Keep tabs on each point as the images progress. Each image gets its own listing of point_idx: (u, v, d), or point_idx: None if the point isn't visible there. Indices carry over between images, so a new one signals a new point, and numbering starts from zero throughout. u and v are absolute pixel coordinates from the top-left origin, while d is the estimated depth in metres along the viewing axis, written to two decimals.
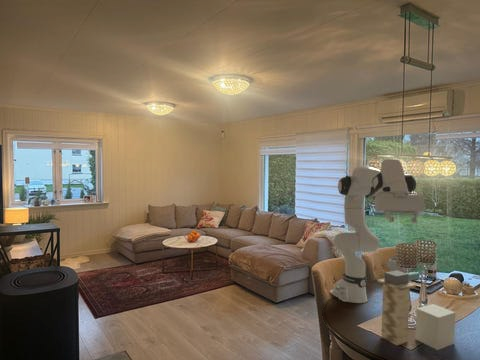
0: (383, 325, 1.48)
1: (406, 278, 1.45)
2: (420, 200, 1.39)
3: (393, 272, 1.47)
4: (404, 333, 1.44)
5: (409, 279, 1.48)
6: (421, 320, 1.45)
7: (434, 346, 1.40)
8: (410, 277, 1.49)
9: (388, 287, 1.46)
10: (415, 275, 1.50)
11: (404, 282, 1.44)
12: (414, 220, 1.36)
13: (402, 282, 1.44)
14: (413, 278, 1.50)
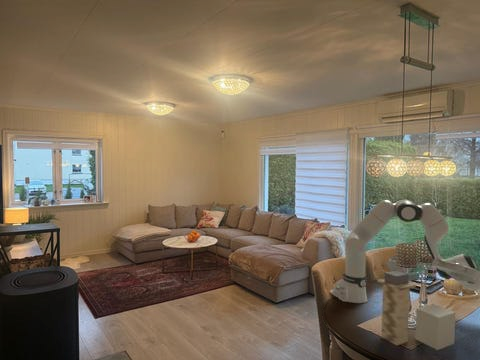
0: (383, 325, 1.48)
1: (406, 278, 1.45)
2: (438, 268, 1.71)
3: (393, 272, 1.47)
4: (404, 333, 1.44)
5: (409, 279, 1.48)
6: (421, 320, 1.45)
7: (434, 346, 1.40)
8: (410, 277, 1.49)
9: (388, 287, 1.46)
10: (415, 275, 1.50)
11: (404, 282, 1.44)
12: (438, 262, 1.64)
13: (402, 282, 1.44)
14: (413, 278, 1.50)
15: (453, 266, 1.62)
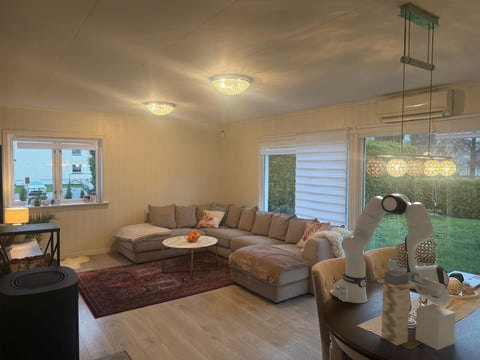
0: (383, 325, 1.48)
1: (406, 278, 1.45)
2: None
3: (393, 272, 1.47)
4: (404, 333, 1.44)
5: (409, 279, 1.48)
6: (421, 320, 1.45)
7: (434, 346, 1.40)
8: (410, 277, 1.49)
9: (388, 287, 1.46)
10: None
11: (404, 282, 1.44)
12: None
13: (402, 282, 1.44)
14: None
15: None
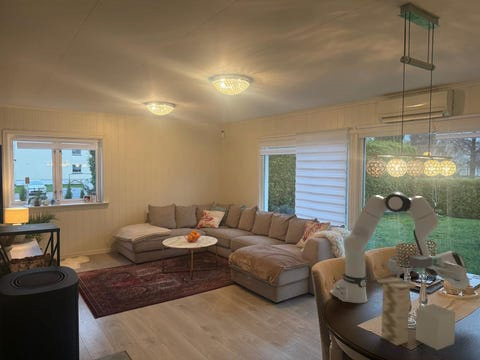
0: (383, 325, 1.48)
1: (429, 261, 1.50)
2: None
3: (417, 256, 1.52)
4: (404, 333, 1.44)
5: (432, 263, 1.54)
6: (421, 320, 1.45)
7: (434, 346, 1.40)
8: (433, 261, 1.54)
9: (388, 287, 1.46)
10: None
11: (428, 265, 1.49)
12: None
13: (426, 265, 1.49)
14: None
15: (439, 263, 1.57)
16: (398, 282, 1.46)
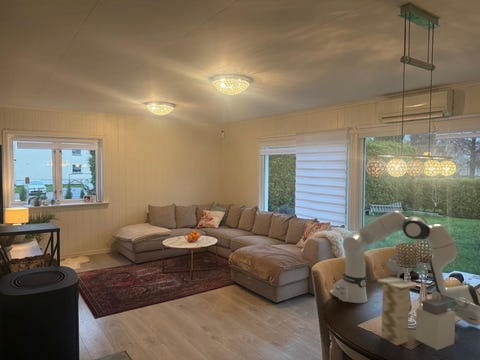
0: (383, 325, 1.48)
1: (445, 307, 1.44)
2: None
3: (432, 300, 1.46)
4: (404, 333, 1.44)
5: (447, 307, 1.47)
6: (421, 320, 1.45)
7: (434, 346, 1.40)
8: (448, 306, 1.48)
9: (388, 287, 1.46)
10: (452, 303, 1.49)
11: (443, 311, 1.43)
12: (440, 297, 1.52)
13: (441, 311, 1.43)
14: (451, 306, 1.49)
15: None
16: (398, 282, 1.46)
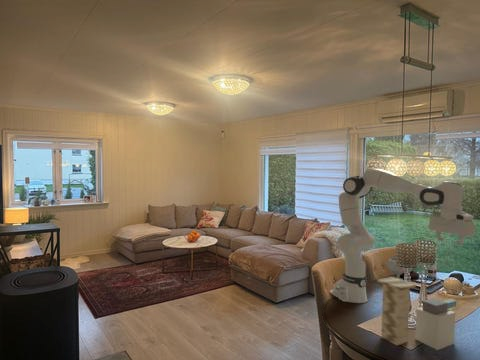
0: (383, 325, 1.48)
1: (445, 307, 1.44)
2: None
3: (432, 300, 1.46)
4: (404, 333, 1.44)
5: (447, 307, 1.47)
6: (421, 320, 1.45)
7: (434, 346, 1.40)
8: (448, 306, 1.48)
9: (388, 287, 1.46)
10: (452, 303, 1.49)
11: (443, 311, 1.43)
12: None
13: (441, 311, 1.43)
14: (451, 306, 1.49)
15: None
16: (398, 282, 1.46)
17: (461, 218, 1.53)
